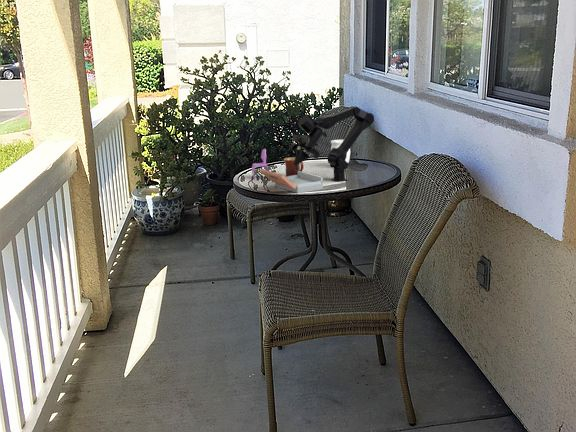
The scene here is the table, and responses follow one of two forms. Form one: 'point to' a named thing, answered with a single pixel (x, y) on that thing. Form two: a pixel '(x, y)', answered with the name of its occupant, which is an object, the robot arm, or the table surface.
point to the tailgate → (277, 178)
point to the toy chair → (260, 163)
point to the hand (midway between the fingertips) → (294, 164)
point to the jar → (336, 144)
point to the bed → (303, 182)
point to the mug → (292, 167)
